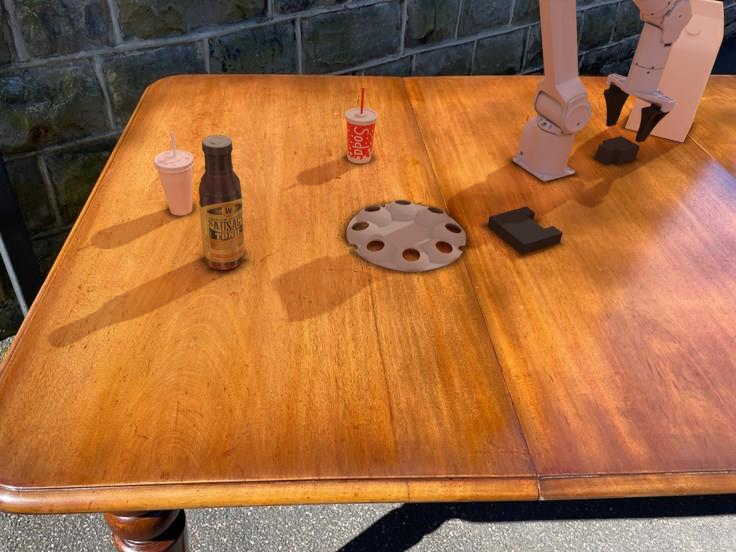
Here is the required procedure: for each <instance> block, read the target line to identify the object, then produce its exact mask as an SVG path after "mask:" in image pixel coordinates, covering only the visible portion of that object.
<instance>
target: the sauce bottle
mask: <svg viewBox="0 0 736 552" xmlns="http://www.w3.org/2000/svg"><path fill="white" fill-rule="evenodd" d="M233 149H234V148H233V141H232V139H231V138H230V137H229V136H226V135H223V134H211V135H207V136H205V137H204V138H203V139H202V141H201V151H202V152H203V155H204V170H205V171H204V172H203V174H202V176H201V177H200V181H199V185H198V195H199V200H198V206H199V219H200V230H201V231H200V232H201V244H202V253H203V256H204V262H205V264H206V265H207V267H208V268H211V269H213V270H218V271H228V270H233V269H235V268H237V267H239V266H240V265H241V264H242V263H243V260H244V254H245V234H244V233H245V231H244V230H245V229H244V228H245V227H244V204H243V194H242V186H241V180H240V178H239V176H238V175H237V173H235V170H234V165H233V158H232V157H233V156H232V153H233Z"/></svg>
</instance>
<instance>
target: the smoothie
mask: <svg viewBox="0 0 736 552" xmlns="http://www.w3.org/2000/svg"><path fill="white" fill-rule="evenodd" d="M169 134H170V142H171V147H172V149H170V150H165V151H161V152H160V153H158V154H156V156H155V157H154V158H153V167H154V169H155V170H156V171H157V173H158V177H159V180H160V183H161V186H162V189H163V193H164V195H165V199H166V202H167V206H168V208H169V211H170V214H172V215H175V216H186V215H188V214H190V213H191V212H192V211H193V167H194V166H195V160H194V156H193V154H192V153H191V152H189V151H187V150H182V149H177V145H176V138H175V132H174V131H173V130H171V131H169Z"/></svg>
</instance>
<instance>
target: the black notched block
mask: <svg viewBox="0 0 736 552" xmlns="http://www.w3.org/2000/svg"><path fill="white" fill-rule="evenodd" d="M640 148H641V145H638V144H637V143H635V142H633V141H632V140H630V139H627V138H626V137H624V136H622V135H619V136H616V137H611V138H607V139H604V140H602V143H601V144H598V146H597V150H596V153H595V156H594V159H595V160H597V161H598V162H600V163H602V164H603V165H609V164H612V163H614V164H616V165H618V166H619V165H621V164H624V163H629V162H632V161H636V158H637V155H638V153H639V150H640Z"/></svg>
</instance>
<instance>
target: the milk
mask: <svg viewBox="0 0 736 552" xmlns="http://www.w3.org/2000/svg"><path fill="white" fill-rule="evenodd" d="M689 1H690V3H691V7H692V12H691V14H693V15H692V17H691V19H690V21H689V23H688V24H687V25H686V26H685V27H684V29H683V30H682V31H681V33H680V36H679V39H677V41H676V42H674V44H673V47H672V50H671V52H670V55H669V58H668V61H667V64H666V66H665V69H664V72H663V75H662V77H661V80H660V83H659V88H658V89H659V90H660V91H662V92H663V93H664V94H666V95H667V96H668V97H670V98H671V99H673V100H675V101H676V102H675V104H674V107H673V109H672V111H670V112H669V113H668V114H667V115H666V116H665V117H664V118H663V119H662V120H661V121H660V122H659V123H658V124H657V125H656V126H655V127H654V129H653V130H652V131H651V133H650V134H649V135H650V136H655V137H659V138H663V139H667V140H671V141H675V142H679V143H684V142H685V139H686V138H687V135H688V133H689V131H690V129H691V127H692V125H693V122H694V120H695V117H696V114H697V112H698V108H699V105H700V103H701V100H702V97H703V95H704V92H705V89H706V87H707V84H708V81H709V78H710V76H711V73H712V70H713V67H714V64H715V61H716V60H717V56H718V53H719V51H720V47H721V45H722V42H723V38H724V32H725V30H724V29H725V28H724V27H725V16H724V12H725V11H724V2H723V1H719V0H689ZM648 106H651V104H649V103H647V102H645V101H643V100H641V99H639V98H637V97H636V99H635V101H634V104H633V107H632V109H631V111H630V114H629V116H628V119H627V121H626V124H625V127H624V128H625V129H627V130H631V131H635V132H638V129H639V126H640V122H641V109H642V108H644V107H648Z"/></svg>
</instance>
